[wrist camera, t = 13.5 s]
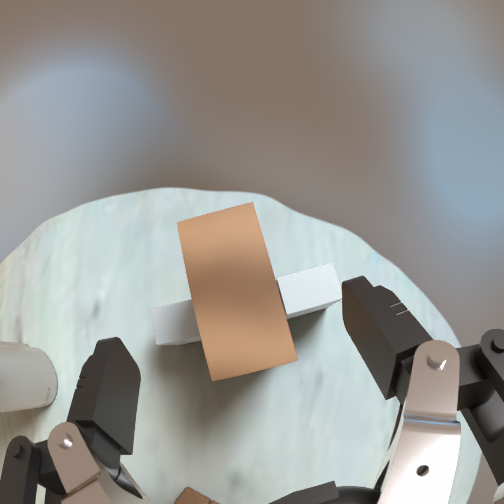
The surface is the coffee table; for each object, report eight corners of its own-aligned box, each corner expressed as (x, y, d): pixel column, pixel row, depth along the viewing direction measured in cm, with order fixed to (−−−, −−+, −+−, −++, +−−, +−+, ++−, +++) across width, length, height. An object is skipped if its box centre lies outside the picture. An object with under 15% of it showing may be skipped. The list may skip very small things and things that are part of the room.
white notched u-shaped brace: (180, 344, 34) (156, 345, 26) (174, 316, 35) (149, 309, 27) (326, 307, 34) (343, 297, 27) (318, 280, 35) (332, 262, 28)
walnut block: (282, 350, 33) (298, 360, 16) (240, 361, 33) (212, 381, 16) (259, 269, 36) (252, 201, 19) (219, 280, 36) (176, 222, 19)
